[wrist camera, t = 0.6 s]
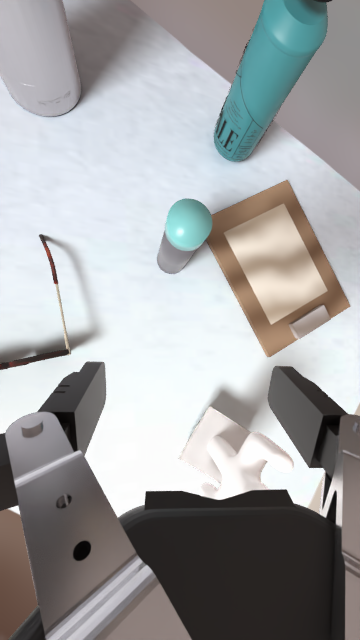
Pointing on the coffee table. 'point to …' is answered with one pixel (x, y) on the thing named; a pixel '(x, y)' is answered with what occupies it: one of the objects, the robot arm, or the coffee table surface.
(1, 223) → the coffee table surface
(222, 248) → the clipboard
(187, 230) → the grey capped container
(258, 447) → the figurine
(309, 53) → the beverage bottle
